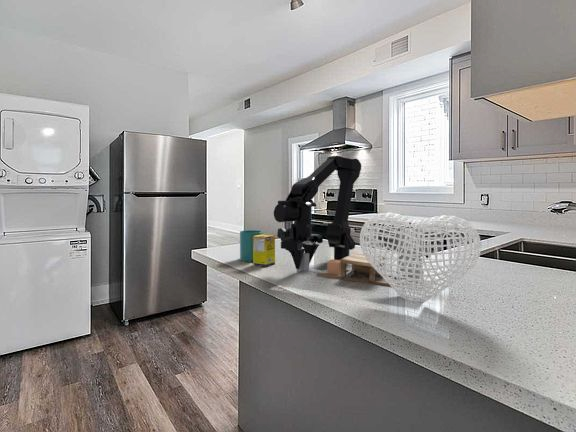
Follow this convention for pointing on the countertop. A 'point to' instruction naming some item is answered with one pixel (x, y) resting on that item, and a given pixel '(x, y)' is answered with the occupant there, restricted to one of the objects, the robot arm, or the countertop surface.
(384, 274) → the heart
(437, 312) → the countertop surface
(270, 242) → the supplement box
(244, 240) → the cup
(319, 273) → the tunnel channel
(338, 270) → the block
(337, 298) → the countertop surface
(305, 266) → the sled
